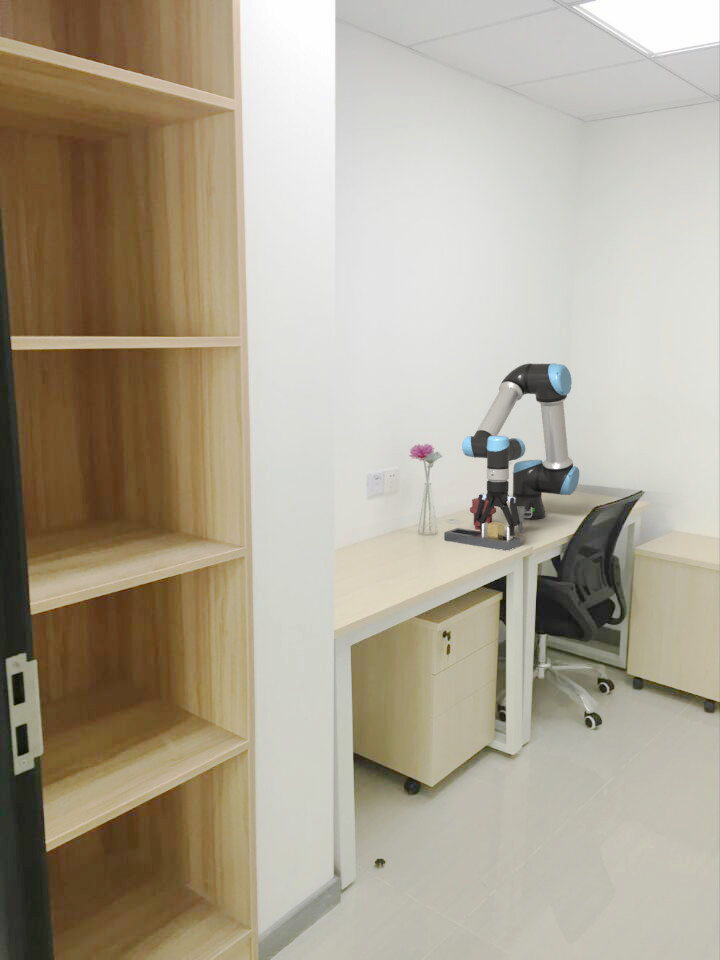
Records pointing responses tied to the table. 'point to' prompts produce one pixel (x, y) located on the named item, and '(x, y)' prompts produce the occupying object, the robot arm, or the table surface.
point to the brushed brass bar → (495, 530)
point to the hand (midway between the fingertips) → (497, 542)
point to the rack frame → (480, 539)
